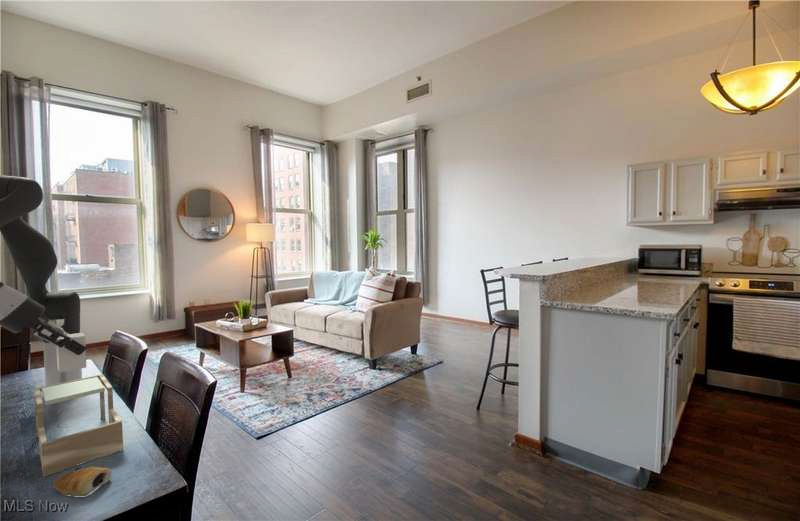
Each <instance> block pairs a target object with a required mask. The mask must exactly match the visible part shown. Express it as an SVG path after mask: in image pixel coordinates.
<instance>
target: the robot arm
mask: <svg viewBox="0 0 800 521" xmlns="http://www.w3.org/2000/svg"><path fill="white" fill-rule="evenodd" d="M43 198H44V194H43V189H42V186H41V185H40V183H39V182H38V181H37V180H35V179H33V178H30V177H26V176H25V177H23V176H14V175H13V176H12V175H3V174H2V175H1V174H0V234H1V235H2V237H3V240H4V242H5V243H6V245H7V248H8V250H9V253H10V255H11V256H10V257H12V261H13V263H14V264H15V266H16V268H17V270H18V272H19V273H20V276H21V279H22V280H23V283H24V285H25V287H26V289H27V292H28V295H29V296H27V295H26V294H25V293H23V292H21V291H19V290H18V289H16V288H14V287H12V286H9V285H7V284H5V283H4V282H2V281H0V326H1V327H2V328H4V329H5V330H8V331H9V332H11V333H13V334H18V333H21V332H22V331H23V330H25V329H26V328H29V329H31V330H32V332H31V333H32V334H33V335H34V336H35V337H37V338H38V337H39V338H41V339H42V346H43V347H42V349H43V363H44V365H43V367H44V383H45V386H49V385H53V384H58V383H63V382H68V381H73V380H77V379H82V378H83V371H82V370H83V368H81V369H75V370H70V371H65V372H59V370H58V368H57V346H58V347H61V348H62V347H63V348H64V347H65V348H66V349H68V350H70V351H72V352H73V353H75V354H77V355H81V354H82V353H83V352H84V351H85V350H86V351H87V348H86V347H87V346H86V347H85V346H83V345H81V344H80V343H78V342H76V341H74V340H73V339H72V338H71V337H69V336H67V335H68V334H75V333H81V298H80V295H79V293H78V292H76V291H55V292H54V291H53V292H51V291H48V289H47V286H46V285H47V282H48V281H49V279H50V278H51V276H52V275H53V273H54V272H55V270H56V268H57V265H58V258H57V257H58V256H57V254H56V252H55V249H54V246H53V244H52V242H51V241H50V240H49V239H48V238H47V237H46V236H45V235H44V234H42V233H41V232H39V231H38V230H37V229H36V228H34V227H33V226H31V225H30V224H29V223H27V222H26V221H25V220H24V219H23V218H22V217H23V216H25V215H27V214H29V213H31V212H33V211H35V210H36V209H38V207H39V206H40V205H42V202H43ZM58 320H63V324H62V325H58V324H57V323H55V322H54V321H58ZM60 337H63V338H64V339H63V340H62V341H60V342H58V341H57V340H58V339H59V338H60ZM56 345H57V346H56Z"/></svg>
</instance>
